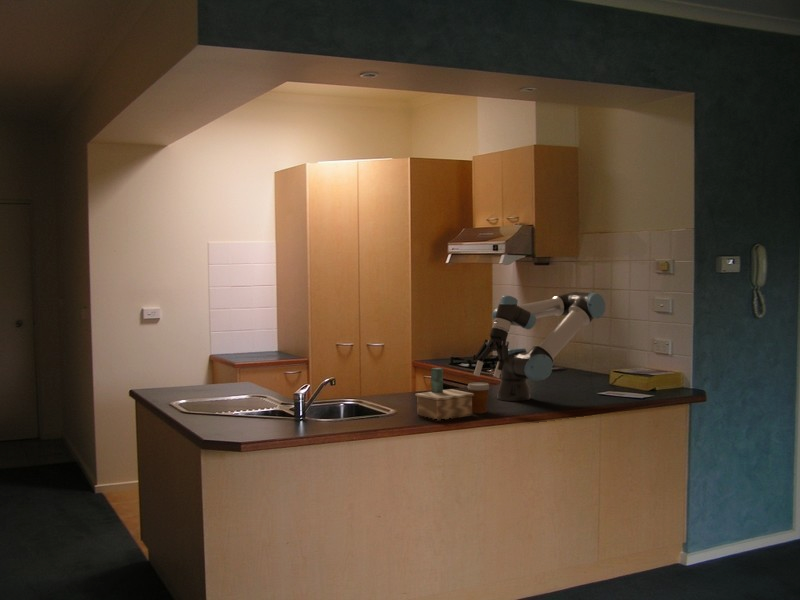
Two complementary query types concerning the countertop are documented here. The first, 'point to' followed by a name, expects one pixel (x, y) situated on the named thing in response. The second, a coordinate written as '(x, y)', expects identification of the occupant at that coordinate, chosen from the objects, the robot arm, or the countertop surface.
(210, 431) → the countertop surface
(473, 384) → the disposable coffee cup
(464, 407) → the carton
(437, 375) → the lid
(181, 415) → the countertop surface
